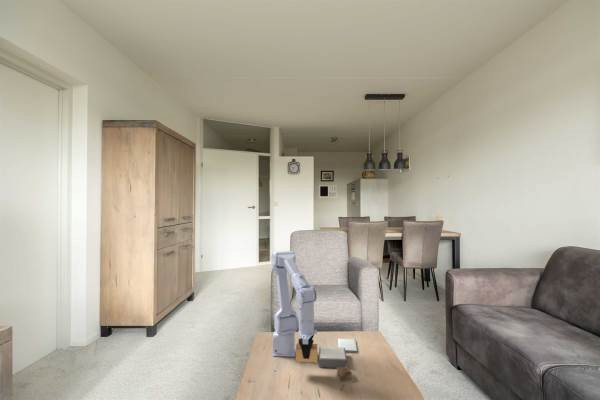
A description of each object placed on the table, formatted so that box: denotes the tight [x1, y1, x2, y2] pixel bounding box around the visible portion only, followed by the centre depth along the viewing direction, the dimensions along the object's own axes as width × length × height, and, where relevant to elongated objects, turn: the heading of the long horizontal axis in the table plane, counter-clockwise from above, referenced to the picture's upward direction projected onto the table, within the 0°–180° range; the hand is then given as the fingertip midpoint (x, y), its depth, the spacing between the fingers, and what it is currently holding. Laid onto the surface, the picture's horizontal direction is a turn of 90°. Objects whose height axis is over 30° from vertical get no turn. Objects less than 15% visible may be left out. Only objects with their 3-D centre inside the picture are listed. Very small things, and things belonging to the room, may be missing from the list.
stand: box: [318, 346, 348, 369], centre depth 124 cm, size 11×11×3 cm
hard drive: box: [337, 338, 358, 354], centre depth 137 cm, size 2×8×12 cm
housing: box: [295, 342, 318, 363], centre depth 114 cm, size 8×4×5 cm, turn 85°
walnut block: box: [336, 365, 352, 382], centre depth 112 cm, size 4×4×3 cm
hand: (306, 355), depth 114 cm, fingers closed on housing, 4 cm apart
